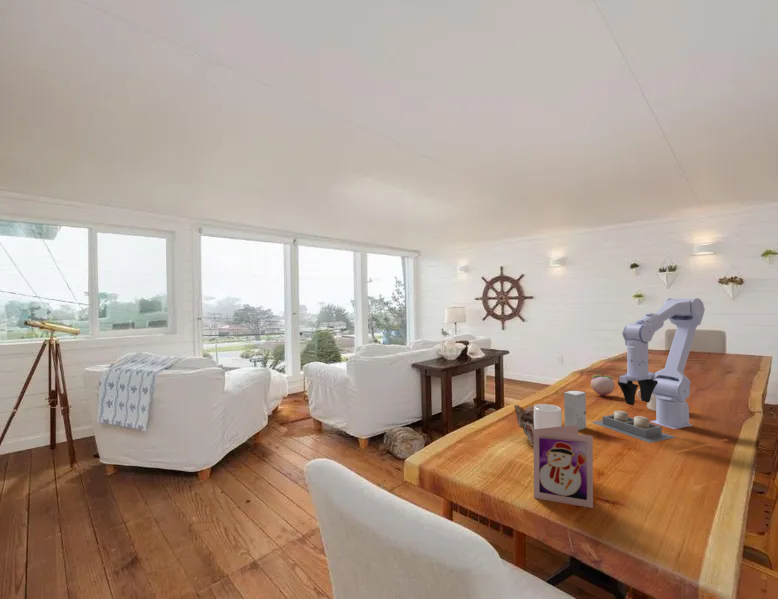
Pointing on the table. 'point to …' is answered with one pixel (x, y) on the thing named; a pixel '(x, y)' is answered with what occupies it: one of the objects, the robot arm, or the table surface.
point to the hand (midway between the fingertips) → (637, 403)
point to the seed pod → (526, 421)
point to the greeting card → (563, 465)
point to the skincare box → (575, 409)
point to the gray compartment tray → (634, 429)
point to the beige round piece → (621, 416)
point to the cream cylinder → (641, 422)
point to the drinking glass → (547, 416)
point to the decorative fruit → (602, 384)
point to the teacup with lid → (652, 403)
